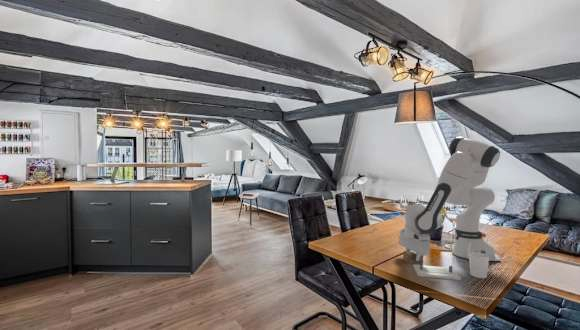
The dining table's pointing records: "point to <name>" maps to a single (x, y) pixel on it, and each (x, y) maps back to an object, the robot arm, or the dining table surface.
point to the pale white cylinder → (478, 264)
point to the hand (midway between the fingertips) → (413, 258)
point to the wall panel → (436, 272)
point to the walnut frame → (411, 257)
